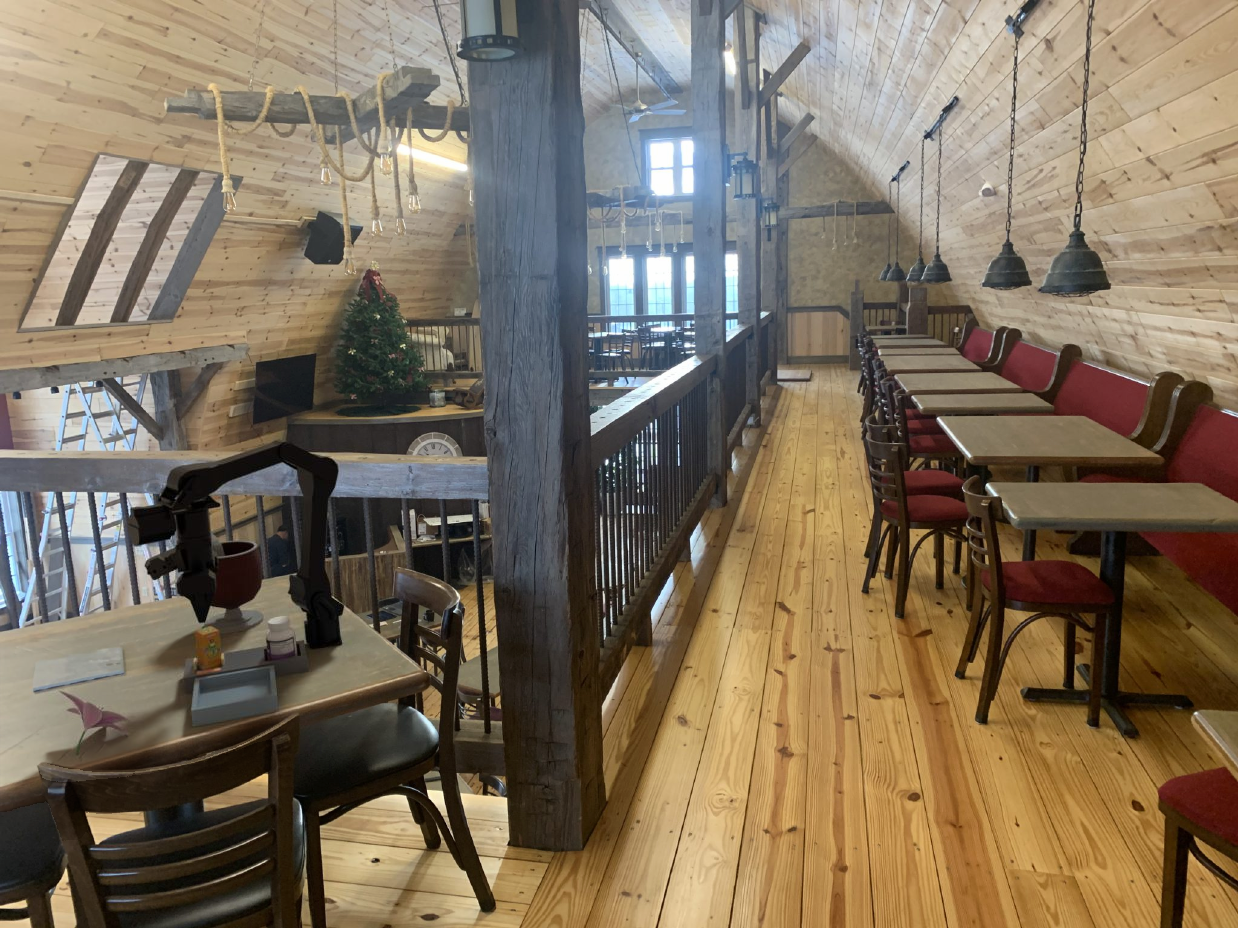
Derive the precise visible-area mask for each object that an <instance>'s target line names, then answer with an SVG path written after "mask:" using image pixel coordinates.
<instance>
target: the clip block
mask: <svg viewBox="0 0 1238 928" xmlns="http://www.w3.org/2000/svg"><path fill="white" fill-rule="evenodd" d="M305 643H306V642H305V639H302V640H296V647H297V656H296V657H290V658H284V659H278V660H272V661H268V653H267V645H266V646H259V647H252V648H247V649H240V650H236V651H230V652H229V651H228V652H223V653H222V652H221V661H222V667H218V668H212V669H206V670H200V671H199V669H198V660H197V657H191V658H186V659H185V664H184V669H183V677H182V678H183V686H184V694H190V693H193V690H194V681H195V679H196V678H202V677H207V676H213V675H219V674H225V673H231V672H236V671H242V670H248V669H254V668H260V667H266V666H271V665H274V669H275V678H279V677H286V676H291V675H296V674H302V673H308V672H309V664H308V663H309V662H308V656H307V649H306V644H305Z"/></svg>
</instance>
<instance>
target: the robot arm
mask: <svg viewBox="0 0 1238 928" xmlns="http://www.w3.org/2000/svg"><path fill="white" fill-rule="evenodd" d="M279 464H284V465H286V466H287V467H289V468H291V469H293V470H295V471H296V474H297V483H298V485H299V488H300V491H301V494H302V497H303V507H302V508H303V509H302V510H303V511H302V512H303V513H302V533H301V549H300V551H301V553H300V554H301V555H300V566H299V569H298V571H297V572H296V574H289V576H288V581H289V587H288V588H289V589H288V591H287V594H288V595H290V599H291V602H293V604H294V605H296V606H298V607H299V608H300V610H301V612H303V613H305V618H306V620H304V621H303V627H304V628H303V629H304V638H305V639H304V640H305V643H306V644H307V645H308V647H309V648H308V649H310V650H314V649H318V648H319V649H320V648H323V647H332V646H337V645H341V644H343V639H342V635H341V625H340V617H341V616H343V613H344V610H345V605H344V604H343V603H341V602H340V601H339V600H338V599H336V598H334V597H333V592H332V585H331V581H330V577H329V575H328V572H327V570H326V556H327V555H326V553H327V536H328V516H329V512H328V511H329V501H330V500H329V499H330V498H331V496H332V495H333V493H334V490H335V488H336V487H337V481H338V477H339V472H340V470H339V464H338V463H337V462H336V460H335V459H333V458H331V457H329V456H325V455H321V454H317V453H312V452H309V451H308V450H306V449H304V448H301V447H299V446H297V445H296V444H294V443H293V442H292V441H287V440H283V439H274V440H273V441H271V442H270V443H267V444H264V445H261V446H258V447H254V448H251V449H249V450H246V451H243V452H240V453H237V454H234V455H231V456H228V457H226V458H222V459H219V460H215V461H209V462H207V461H206V462H198V463H197V462H196V463H191V464H189V463H188V464H183V465H179V466H176V467H173V468H172V469H171V470H170V471H169V473H168V475H167V477H166V478H167V479H166V484H165V486H164V488H163V489H162V491H161V493H160V495H159V496H158V498H157V499H156V502H155V504H151V505H150V504H149V505H144V506H134V507H130V508H129V513H130V514H129V516H128V520H127V522H128V523H127V524H126V528H127V532H128V536H129V539H130V541H131V543H132V545H133V546H134V547H139V546H140V547H141V546H143V545H149V544H155V543H159V542H160V543H161V542H165V541H169V540H170V539H171V538H172V537H173V536H175V535H176V538H177V539H176V544H175V546H174V547H173V548H171V549H168V550H166V551H163V552H161V553H159V554H156V555H154V556H150V557H149V558H148V559H146V561H145V562H144V565H143V566H144V568H145V569H146V575H148V576H150V579H152V581H157V580H159V579H161V578H162V577H163V576H166V575H168V574H169V573H172V572H174V571H177V573H181V574H179V576H178V577H177V579H176V591H177V595H179V596H180V597H184V598H186V599H188V600H189V602H190V604H191V607H192V609H193V611H194V612H193V613H194V614H195V617H196V619H197V622H198V624H204V623H205V622H206V620H208V619H207V618H208V614H209V611H210V608H211V607H212V606H211V603H212V600H213V597H214V594H215V591H216V574H217V570H218V555H217V552H215V551H214V550H213V545H212V541H213V538H212V535H211V533H212V528H211V517H210V510H211V509H214V508H216V509H217V508H220V507H221V503H220V502H218V501H216V500H215V499H214V498H213V497H212V494H213V493H216V492H217V491H218V490H219V489H220V488H221V487H223V486H224V485H225V484H227V483H229V482H231V481H233V480H234V481H235V480H237V479H239V478H242V477H245V476H249V475H251V474H254V473H257V472H259V471H262V470H265V469H267V468H271V467H273V466H276V465H277V466H278V465H279Z"/></svg>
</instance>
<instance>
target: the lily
mask: <svg viewBox="0 0 1238 928" xmlns="http://www.w3.org/2000/svg"><path fill="white" fill-rule="evenodd" d="M59 693H61V694H62V695H64V696H65V697H66V698H68V699H69V700H70V701H71V702H72V703H73V704H74V705H75V706H76V707H77V708H76V707H71V708H67V709H66V711H67V712H69V713H72V714H76V715H80V716H81V720H82V723H83V726H84V730H83V732H82V733H81V736H80V737H79V740H78V741H79V742H78V744H77V747H76V748H77V749H76V751H75V755H76V756H78V755H79V751H80V747H81V743H82V740H83V738H84V736H85V734H86V732H87V731H88V730H89V729H94V728H99V727H102V728H104V729H107V728H108V727H109V728H111V729H114V730H117V731H119V732H121V733H122V734H124V735H125V736H129V735H130V734H129V733H128V732H127V731H126V730H125V729H123V728H122V727H120V725H118V723H122V722H130V721H131V719H130V718H129V717H126V716H124V715H122V714H119V713H117V712H114V711H111V710H103V709H104V707H103V706H102V707H101V708H100V705H99V706H98V707H97V705H95V704H93V703H92V702H90V701H87V702H84V701H83V699H80V698H78V697H77V696H75V695H72V694H70V693H67V692H64V691H63V690H62V691H61V690H59Z"/></svg>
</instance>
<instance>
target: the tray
mask: <svg viewBox="0 0 1238 928" xmlns="http://www.w3.org/2000/svg"><path fill="white" fill-rule="evenodd" d="M276 679H277V678H276V677H275V669H274V665H271V666H266V667H260V668H254V669H248V670H242V671H236V672H231V673H225V674H219V675H213V676H207V677H202V678H196V679H195V681H194V690H193V692H192V700H191V708H190V709H191V710H190V712H191V720H192V728H193V727H200V726H205V725H209V724H210V725H211V724H216V723H222V722H226V721H232V720H236V719H242V718H246V717H247V718H248V717H252V716H253V717H254V716H258V715H264V714H268V713H269V714H270V713H274V712H279V704H278V703H279V702H278V690H277V681H276Z"/></svg>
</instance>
